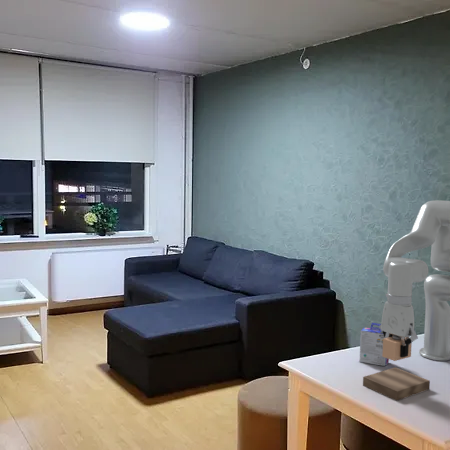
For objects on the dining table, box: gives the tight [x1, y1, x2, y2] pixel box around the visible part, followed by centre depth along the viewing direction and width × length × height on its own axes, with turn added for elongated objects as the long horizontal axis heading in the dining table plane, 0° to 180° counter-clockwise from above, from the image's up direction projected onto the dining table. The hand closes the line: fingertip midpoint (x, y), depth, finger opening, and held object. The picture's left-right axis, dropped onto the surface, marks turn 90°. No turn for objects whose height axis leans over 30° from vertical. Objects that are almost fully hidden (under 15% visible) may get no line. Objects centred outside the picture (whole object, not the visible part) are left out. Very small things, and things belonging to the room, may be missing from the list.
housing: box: [382, 335, 413, 362], centre depth 179 cm, size 5×8×7 cm, turn 123°
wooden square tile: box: [362, 367, 431, 401], centre depth 180 cm, size 16×14×3 cm
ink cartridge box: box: [358, 322, 390, 367], centre depth 203 cm, size 10×6×14 cm, turn 62°
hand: (396, 353), depth 179 cm, fingers closed on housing, 5 cm apart
